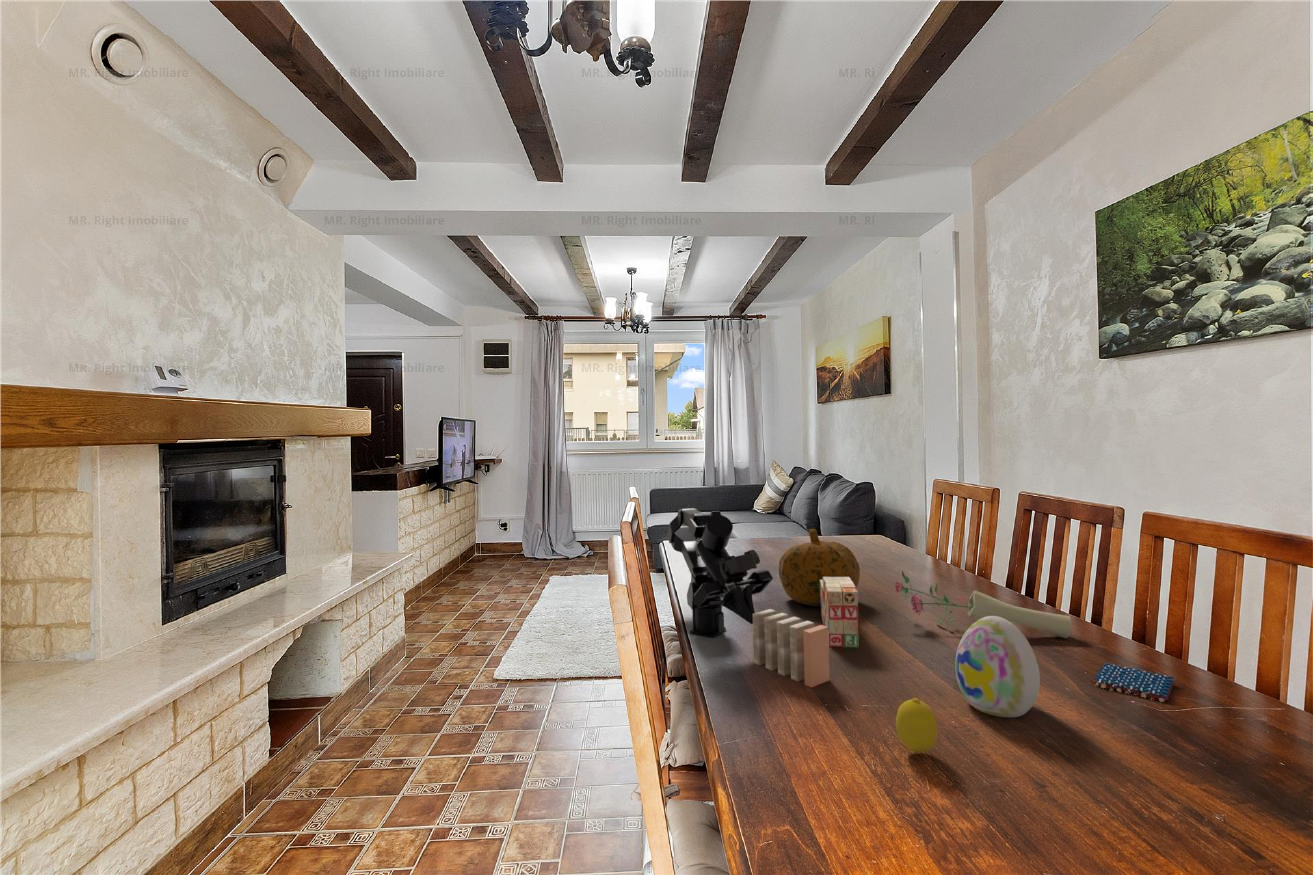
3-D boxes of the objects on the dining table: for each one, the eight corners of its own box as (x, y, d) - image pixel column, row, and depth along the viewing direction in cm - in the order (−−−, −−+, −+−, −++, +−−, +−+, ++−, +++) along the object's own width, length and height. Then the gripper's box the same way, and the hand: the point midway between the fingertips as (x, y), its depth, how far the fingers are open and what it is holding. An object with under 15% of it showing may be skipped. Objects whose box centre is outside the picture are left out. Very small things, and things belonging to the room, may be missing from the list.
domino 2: (765, 668, 119) (764, 617, 119) (783, 661, 122) (782, 612, 122) (771, 670, 118) (770, 619, 118) (789, 664, 121) (787, 614, 121)
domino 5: (804, 684, 111) (803, 630, 111) (822, 677, 114) (821, 624, 114) (811, 687, 110) (810, 632, 110) (829, 680, 113) (828, 626, 113)
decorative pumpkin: (874, 607, 152) (864, 528, 153) (791, 617, 153) (782, 538, 153) (850, 589, 173) (841, 519, 173) (777, 598, 173) (768, 528, 174)
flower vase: (1061, 677, 128) (888, 630, 138) (1047, 641, 139) (887, 600, 149) (1080, 632, 124) (900, 587, 134) (1064, 599, 135) (899, 559, 144)
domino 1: (753, 663, 122) (752, 613, 122) (771, 656, 125) (770, 608, 125) (759, 665, 121) (758, 615, 121) (777, 659, 124) (775, 610, 123)
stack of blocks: (820, 616, 151) (819, 567, 151) (846, 616, 150) (845, 567, 149) (829, 647, 130) (827, 590, 129) (859, 648, 129) (858, 590, 128)
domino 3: (778, 673, 117) (776, 621, 116) (795, 666, 120) (794, 616, 119) (784, 676, 115) (782, 623, 115) (802, 669, 118) (800, 618, 118)
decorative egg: (939, 699, 104) (937, 612, 104) (989, 685, 109) (987, 602, 108) (1005, 731, 93) (1003, 633, 92) (1058, 713, 97) (1056, 621, 97)
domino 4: (791, 678, 114) (789, 626, 114) (808, 671, 117) (807, 620, 117) (797, 681, 113) (796, 628, 113) (815, 674, 116) (814, 622, 115)
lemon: (935, 746, 89) (934, 692, 89) (940, 766, 84) (938, 709, 84) (895, 741, 91) (894, 688, 91) (897, 760, 86) (896, 704, 85)
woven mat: (1101, 670, 115) (1101, 660, 114) (1175, 686, 107) (1175, 675, 107) (1089, 688, 107) (1089, 677, 107) (1167, 707, 100) (1167, 694, 100)
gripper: (700, 544, 124) (738, 610, 115) (765, 533, 134) (805, 592, 126) (678, 575, 130) (713, 640, 122) (742, 562, 141) (778, 621, 132)
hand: (754, 622), depth 125 cm, fingers closed
